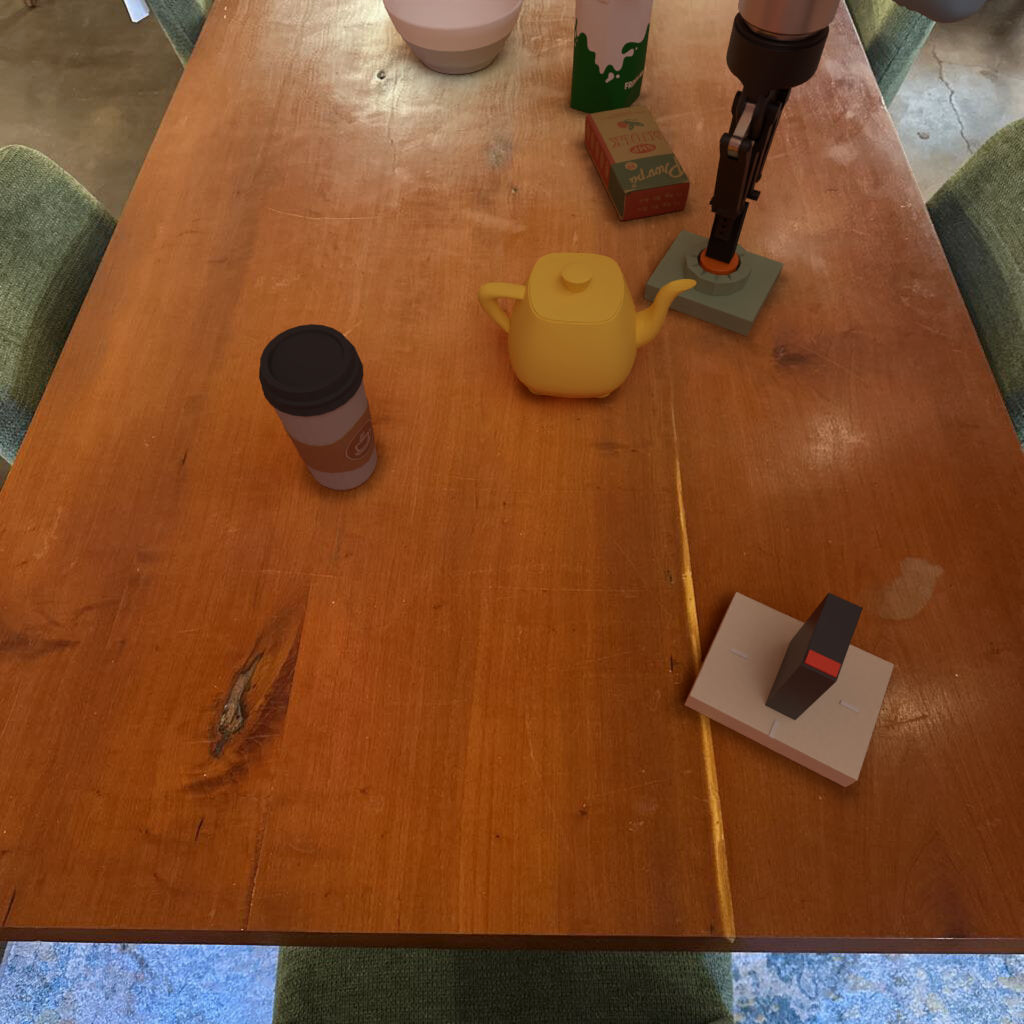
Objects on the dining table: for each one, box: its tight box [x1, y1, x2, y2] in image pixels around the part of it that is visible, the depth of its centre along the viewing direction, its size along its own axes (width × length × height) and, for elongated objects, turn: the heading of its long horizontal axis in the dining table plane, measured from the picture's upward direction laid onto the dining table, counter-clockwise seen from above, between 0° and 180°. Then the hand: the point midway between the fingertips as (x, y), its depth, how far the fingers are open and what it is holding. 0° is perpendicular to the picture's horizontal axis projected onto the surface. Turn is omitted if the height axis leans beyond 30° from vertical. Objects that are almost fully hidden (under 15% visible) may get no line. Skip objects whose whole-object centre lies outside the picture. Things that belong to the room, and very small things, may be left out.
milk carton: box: [569, 0, 654, 114], centre depth 95 cm, size 9×9×20 cm
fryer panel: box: [683, 591, 895, 788], centre depth 60 cm, size 13×10×3 cm
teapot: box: [476, 252, 697, 399], centre depth 74 cm, size 13×20×12 cm
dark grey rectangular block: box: [765, 592, 863, 720], centre depth 55 cm, size 6×2×9 cm, turn 151°
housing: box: [643, 229, 785, 337], centre depth 83 cm, size 12×10×4 cm
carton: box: [584, 104, 691, 222], centre depth 93 cm, size 8×16×4 cm, turn 14°
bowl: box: [382, 0, 524, 75], centre depth 107 cm, size 20×20×8 cm
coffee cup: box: [258, 323, 378, 491], centre depth 67 cm, size 8×8×15 cm
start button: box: [699, 248, 739, 275], centre depth 82 cm, size 4×4×2 cm
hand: (719, 255), depth 81 cm, fingers closed
